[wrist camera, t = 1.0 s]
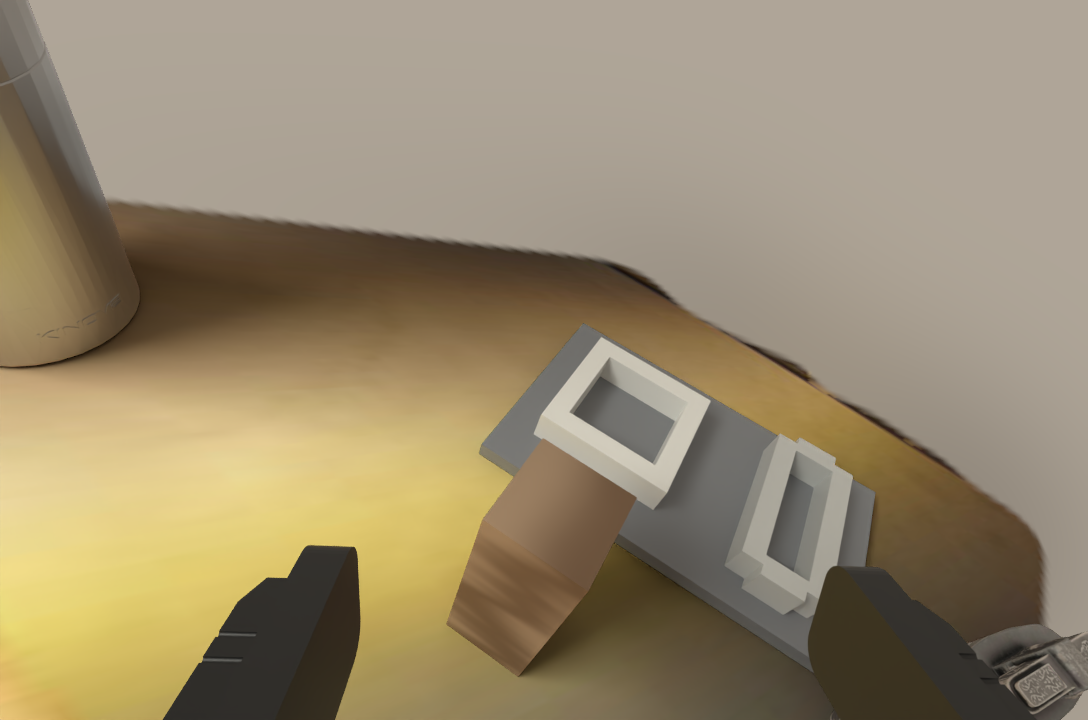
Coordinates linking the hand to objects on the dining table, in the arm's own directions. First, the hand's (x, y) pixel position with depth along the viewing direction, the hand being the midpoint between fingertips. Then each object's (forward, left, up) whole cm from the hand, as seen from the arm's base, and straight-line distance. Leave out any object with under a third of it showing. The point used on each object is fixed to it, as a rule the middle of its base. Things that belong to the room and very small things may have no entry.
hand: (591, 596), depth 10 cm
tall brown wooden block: (-1, +6, -19) cm, 20 cm away
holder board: (+4, +19, -19) cm, 27 cm away
